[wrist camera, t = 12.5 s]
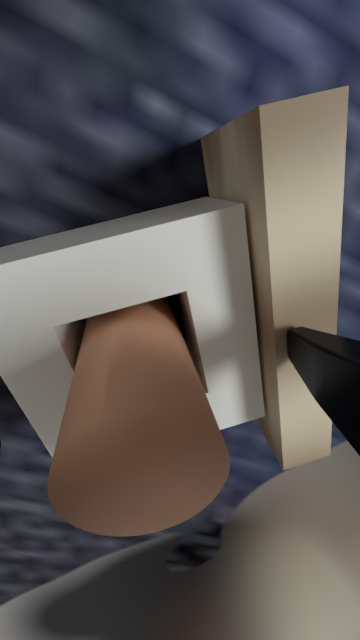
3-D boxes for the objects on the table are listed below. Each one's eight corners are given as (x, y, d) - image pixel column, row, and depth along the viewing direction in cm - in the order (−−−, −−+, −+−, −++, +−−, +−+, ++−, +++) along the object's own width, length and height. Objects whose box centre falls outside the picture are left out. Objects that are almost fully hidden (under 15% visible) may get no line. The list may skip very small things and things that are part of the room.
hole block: (230, 360, 15) (265, 416, 11) (79, 404, 14) (64, 477, 11) (205, 196, 11) (243, 203, 8) (-1, 247, 11) (-61, 280, 7)
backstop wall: (272, 379, 16) (330, 455, 12) (238, 389, 16) (283, 470, 11) (252, 126, 10) (348, 85, 6) (200, 138, 10) (259, 105, 6)
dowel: (178, 339, 14) (238, 505, 7) (104, 359, 14) (86, 554, 6) (161, 268, 12) (216, 388, 5) (76, 289, 12) (11, 448, 5)
